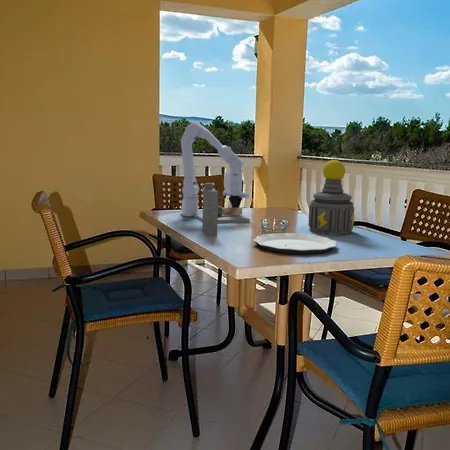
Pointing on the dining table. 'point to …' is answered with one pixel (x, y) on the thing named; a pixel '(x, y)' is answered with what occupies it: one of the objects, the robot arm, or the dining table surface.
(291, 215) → the dining table surface
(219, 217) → the grey flat slab
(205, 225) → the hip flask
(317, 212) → the decorative lamp
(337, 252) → the dining table surface
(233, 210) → the curved bar with hub
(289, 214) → the dining table surface
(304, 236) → the plate
